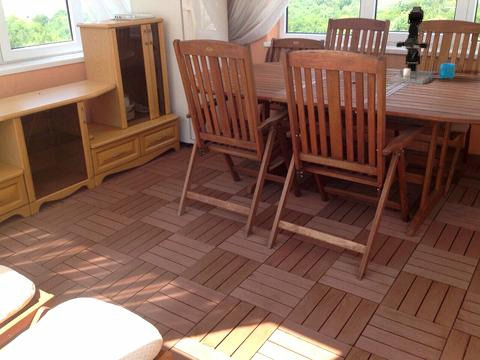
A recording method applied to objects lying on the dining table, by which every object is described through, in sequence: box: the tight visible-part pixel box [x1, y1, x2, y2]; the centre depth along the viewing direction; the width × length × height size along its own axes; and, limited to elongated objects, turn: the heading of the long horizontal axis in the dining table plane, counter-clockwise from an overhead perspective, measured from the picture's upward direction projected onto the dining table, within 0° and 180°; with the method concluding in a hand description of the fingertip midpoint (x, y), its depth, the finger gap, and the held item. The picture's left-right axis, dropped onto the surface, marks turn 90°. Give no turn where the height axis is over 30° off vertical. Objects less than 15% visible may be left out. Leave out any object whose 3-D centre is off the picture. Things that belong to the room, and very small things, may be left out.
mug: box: [438, 62, 456, 79], centre depth 309 cm, size 12×8×8 cm
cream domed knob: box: [403, 67, 411, 77], centre depth 308 cm, size 4×4×7 cm
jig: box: [390, 69, 434, 85], centre depth 306 cm, size 16×20×4 cm
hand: (411, 59), depth 309 cm, fingers closed
